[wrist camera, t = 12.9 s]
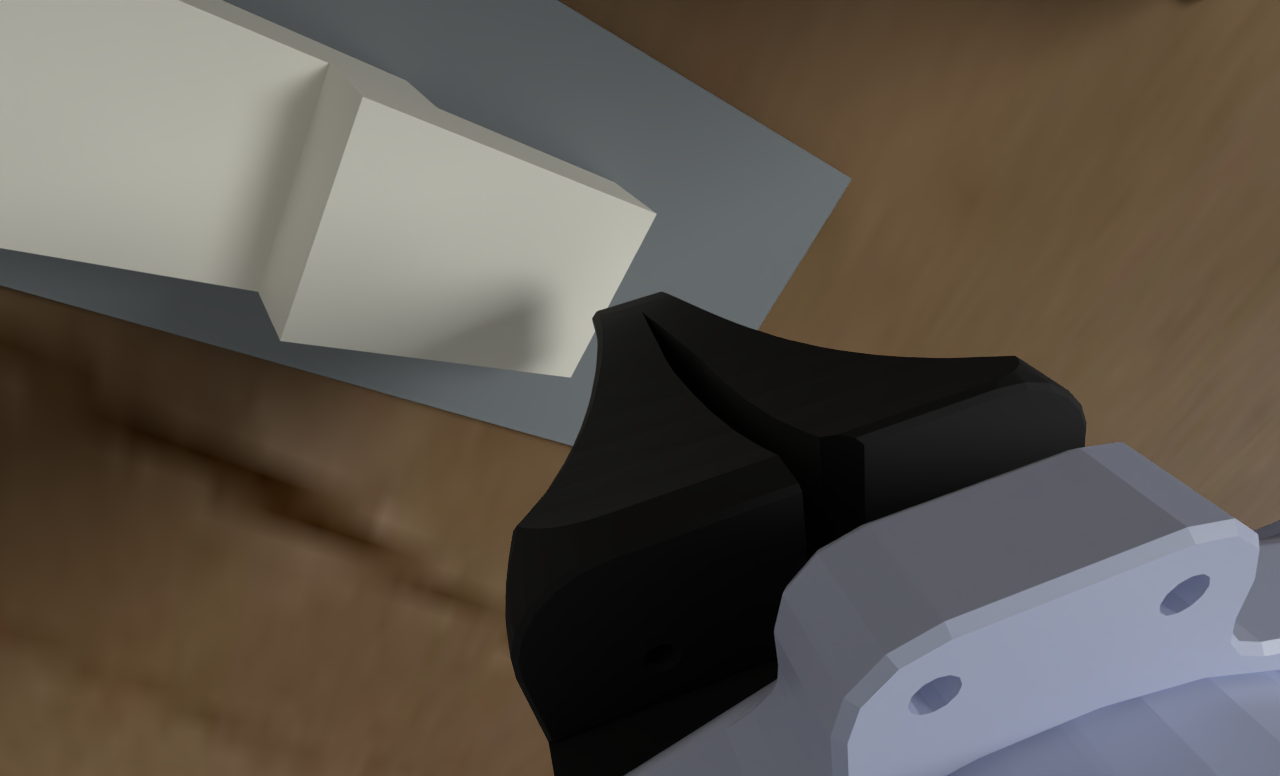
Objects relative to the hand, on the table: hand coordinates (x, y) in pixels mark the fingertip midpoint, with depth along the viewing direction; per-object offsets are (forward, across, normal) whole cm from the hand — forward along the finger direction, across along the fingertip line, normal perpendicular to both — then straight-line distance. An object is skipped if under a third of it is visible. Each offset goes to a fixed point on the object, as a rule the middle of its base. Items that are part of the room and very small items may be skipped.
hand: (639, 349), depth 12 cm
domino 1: (+3, +4, -3) cm, 6 cm away
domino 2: (+3, 0, 0) cm, 3 cm away
